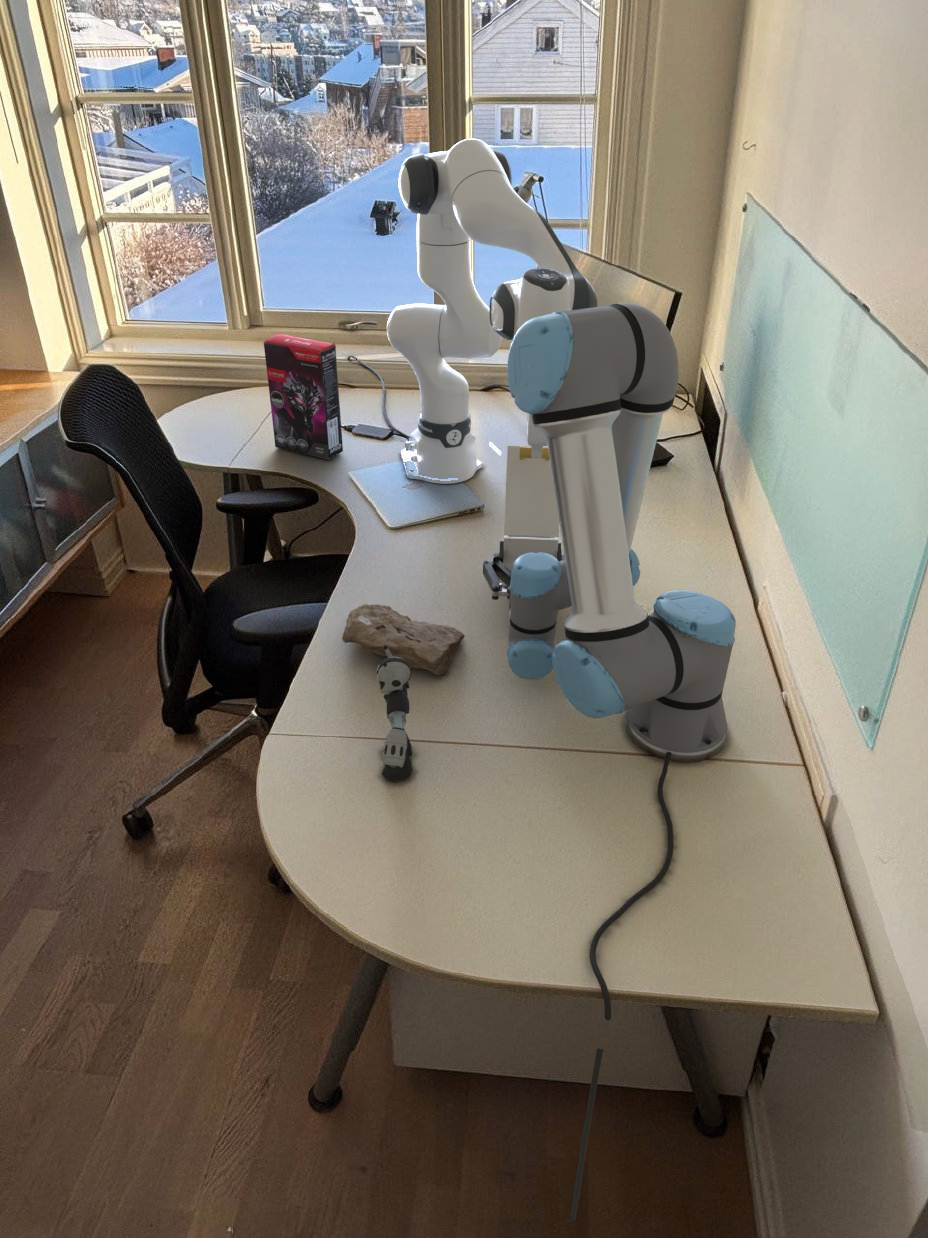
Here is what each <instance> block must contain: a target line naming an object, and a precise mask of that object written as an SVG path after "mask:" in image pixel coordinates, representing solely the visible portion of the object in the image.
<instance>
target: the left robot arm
mask: <svg viewBox="0 0 928 1238" xmlns="http://www.w3.org/2000/svg"><path fill="white" fill-rule="evenodd" d="M512 180H513V179H512V168H511V164H510V162H509V159H508V158H507V156H506V155H505V154H504V152H502V151H500V150H497V149H492V148H491V147H490V146H489V145H488V144H487V143H486V142H485V141H483V140H482V139H479V138H478V139H477V138H466V139H463V140H460V141H458V142H457V143H456V144H454V145H453V146H452V147H451V148H450V149H449V150H444V151H437V152H431V153H427V154H425V153H423V152H422V153H418V154H417V153H416V154H414V155H411V156H408V157H407V158H406V159H405V160H404V161H403V163H402V164H401V166H400V171H399V177H398V190H399V194H400V197H401V200H402V203H403V205H404V207H405V208H406V210H408V211H409V212H410V213H413V214H417V221H416V252H417V274H418V277H419V279H420V281H421V282H422V283H423V284H424V286H425V287H427V288H428V289H429V290H431V291H433V292H434V293H436V294H438V296H439V297H440V298H441V300H442V301H443V302H444V304H428V303H411V304H404V305H398V306H396V307H395V308H394V309H393V311H392V312H391V313H390V315H389V317H388V318H387V323H386V335H387V339H388V341H389V343H390V345H391V346H392V348H393V349H394V350H395V351H396V352H398V354H400V355H401V356H402V357H403V358H404V360H406V361H407V363H408V364H409V365H410V367H411V368H412V370H413V372H414V374H415V376H416V380H417V382H418V386H419V396H420V397H419V398H420V399H419V400H420V411H419V412H420V414H419V418H418V420H417V428H416V429H414V430H413V431H412V432H411V433H410V434H409V435H407V434H406V433H404V432H402V431H401V430H399V429H397V428H396V427H395V426H394V425H393V424H392V422H391V421H390V419H389V417H388V416H387V412H386V383H385V381H384V379H383V377H382V376H381V374H379V372H377V371H376V369H374V368H372V367H371V366H369V365H368V364H367V363H365V362H363V361H362V360H361V359H359V358H358V357H356V356H355V355H352V354H349V355H348V356H347V357H346V360H350V359H354V360H355V359H359V361H357V362H358V363H359V364H360V365H361V366H363V367H365V368H366V369H368V370H369V371H371V372H373V373H374V375H376V376H377V377H378V379H379V381H380V382H381V385H382V401H381V402H382V403H381V407H382V414H383V417H384V420H385V421H386V423H387V425H388V426H389V428H390V429H391V430H392V431H394V432H396V433H397V434H399V435H400V436H402V437H404V438H406V439H409V441H405V443H404V449H401V450H400V457H401V461H402V464H403V468H404V470H405V474H406V476H407V478H408V479H411V480H420V481H424V482H428V483H433V484H439V485H440V484H441V485H448V484H451V485H452V484H458V483H463V482H465V481H468V480H469V479H472V477H474V476H475V473H476V472H477V471H478V470H480V469H481V468H483V462H482V461H481V460H479V459H478V458H477V439H476V435H475V434H473V432H471V426H472V419H471V414H470V385H469V383H468V381H467V379H466V378H465V377H464V375H462V374H461V373H460V372H458V371H456V370H455V369H453V368H452V367H451V366H450V365H449V364H448V363H447V361H446V360H445V358H447V359H459V360H472V361H473V360H479V359H480V360H481V359H487V358H492V357H493V356H494V355H496V354H497V353H498V351H499V349H500V348H501V345H502V342H503V339H505V340H506V341H513V339H514V336H515V334H516V332H517V331H518V329H519V328H520V327H521V326H522V325H523V324H524V323H525V322H526V321H528V320H530V319H532V318H535V317H539V316H543V315H547V314H552V313H553V312H562V311H570V310H578V309H587V308H595V307H598V298H597V294H596V291H595V289H594V287H593V286H592V283H590V281H589V280H588V279H587V278H586V277H585V276H584V275H583V273H581V271H580V270H579V269H578V268H577V267H576V265H575V263H574V262H573V261H572V258H571V257H570V255H569V254H568V252H567V251H566V249H565V247H564V246H563V244H562V242H561V241H560V239H559V238H558V236H557V234H556V232H555V231H554V229H553V228H552V227H551V225H550V223H549V222H548V220H547V219H546V218H545V216H544V215H543V213H541V212H540V211H538V210H537V209H535V208H534V207H532V206H530V204H528V203H527V202H526V201H525V200H524V199H522V197H521V196H520V195H519V194H518V193H517V191H515V190H514V188H513V186H512V185H513V183H512V182H513V181H512ZM471 240H472V241H474V242H476V243H478V244H480V245H483V246H487V247H492V248H493V247H494V248H500V249H506V250H510V251H514V252H518V253H520V254H523V255H525V256H527V257H529V258H530V259H531V260H532V261H534V263H535V264H536V266H537V267H536V268H531V269H528V270H526V271H525V272H523V274H522V275H521V277H520V278H519V279H514V280H509V281H505V282H501V283H500V284H499V285H498V286H497V287H496V288H495V289H494V291H493V292H492V294H491V296H490V299H489V306H488V305H487V304H486V303H485V302H484V301H483V299H482V298H481V296H480V295H479V293H478V290H477V289H476V286H475V284H474V280H473V273H472V265H471ZM351 357H352V358H351ZM526 433H527V435H526V436H527V437H526V439H527V441H526V442H527V446H531V447H532V451H531V457H532V458H533V459H540V458H541V457H542V448H543V447H548V443H547V438H546V436H545V435H544V434H543V433H541V432H540V431H539V430H537V429H536V428H535V427H533V421H532V414H528V413H526ZM489 446H490V447H491V448H492V449H493V450H494V451H495V452H496V453H497V454H498V455H499V456H501V455H502V451H501V450H500V449H499V448H497V446H495V444H494V443H493V442H491V441H489ZM407 461H411V462H414V464H415V466H416V469H417V474H418V475H422V476H427V477H431V478H438V479H448V478H458V480H451V481H440V480H432V479H428V478H424V477H420V476H411V475H409V474H408V473H407V470H406V466H405V463H404V462H407ZM409 472H415V470H409Z"/></svg>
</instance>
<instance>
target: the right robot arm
mask: <svg viewBox="0 0 928 1238" xmlns="http://www.w3.org/2000/svg"><path fill="white" fill-rule="evenodd" d="M506 366H507V367H506V369H507V370H506V373H507V374H506V375H507V382H508V383H507V384H508V389H509V393H510V396H511V397H512V398H513V399H514V404H515V406H516V407H517V408H518V409H519V410H520V411H521V412H523V413H526V414H527V413H528V414H532V421H533V427H535V428H536V429H537V430H539V431H540V432H541V433H543V434H544V435H545V436H546V438H547V443H548V446H547V447H548V450H549V456H550V463H551V470H552V476H553V483H554V490H555V496H556V503H557V509H558V516H559V530H560V535H561V542H558V551H557V559H556V558H555V557H554V556H552V555H550V554H547V553H542V552H539V553H533V552H531V553H526V554H523V555H521V556H520V557H518V558H517V559H516V561H515V562H514V564H513V569H512V571H511V570H509V569H508V568H507V567H506V566H505V565H504V564H503V552H504V549H503V547H504V540H499V552H493V555H492V561H489V560H483V561H482V575H483V577H484V579H485V581H486V583H487V585H488V587H489V589H490V591H491V599H492V600H493V601H498V600H499V598H500V597H505V598H507V600H508V641H507V642H508V644H507V653H506V655H507V658H508V659H507V660H508V666H509V668H510V670H511V672H512V673H513V674H514V675H516V676H517V677H519V678H521V679H523V680H531V681H533V680H534V681H535V680H540V679H542V678H544V677H546V676H548V675H549V674H550V673H551V672H552V670H553V673H554V676H555V678H556V682H557V684H558V686H559V688H560V690H561V692H562V693H563V695H564V697H565V698H566V699H567V700H568V702H569V703H570V704H571V705H572V706H573V708H575V709H576V710H577V711H578V713H581V714H582V715H583V716H586V717H587V718H591V719H602V718H606V717H609V716H612V715H621V714H623V713H624V712H626V719H625V728H626V732H627V734H628V736H629V738H630V739H631V741H632V742H634V744H636V745H637V746H638V747H639V748H640V749H641V750H643V751H645V752H646V753H648V754H650V755H651V756H654V757H656V758H659V759H662V760H664V761H663V765H662V771H661V773H660V777H659V781H658V784H657V796H658V797H657V798H658V802H659V806H660V808H661V811H662V813H663V816H664V819H665V822H666V829H667V852H666V857H665V860H664V863H663V865H662V867H661V869H660V871H659V873H658V874H657V875H656V876H655V877H654V878H653V879H652V880H651V881H650V882H649V883H648V884H646V885H645V886H644V887H642V888H641V889H639V890H638V891H637V892H636V893H634V894H633V895H632V896H630V898H628V900H626V901H625V903H623V904H622V905H621V906H620V907H619V908H618V909H617V910H616V911H615V912H614V913H612V914H611V915H610V916H609V917H608V918H607V919H606V920H605V921H604V922H603V923H602V924H601V925H600V926H599V928H598V929H597V930H596V931H595V933H594V936H593V937H592V940H591V943H590V947H589V962H590V966H591V969H592V971H593V973H594V976H595V979H596V980H597V982H598V984H599V987H600V989H601V992H602V997H603V1004H604V1005H603V1006H604V1019H605V1020H606V1021H611V1019H612V1001H611V995H610V992H609V988H608V985H607V983H606V981H605V978H604V976H603V974H602V973H601V969H600V967H599V964H598V963H597V962H598V961H597V956H596V955H597V954H596V952H597V946H598V943H599V941H600V939H601V937H602V935H603V934H604V933H605V932H606V930H607V929H608V928H609V927H610V926H612V924H613V923H615V921H617V920H618V919H619V918H620V917H621V916H622V915H623V914H625V912H626V911H627V910H628V909H630V907H631V906H632V905H633V904H634V903H635V902H637V901H638V900H639V899H640V898H642V897H644V896H645V895H646V894H647V893H649V892H650V891H651V890H652V889H654V888H655V887H656V886H657V885H658V884H659V883H660V882H661V881H662V880H663V878H664V877H665V875H666V874H667V872H668V870H669V868H670V865H671V864H672V863H671V862H672V859H673V854H674V827H673V821H672V818H671V814H670V812H669V810H668V807H667V804H666V801H665V796H664V783H665V780H666V778H667V773H668V769H669V765H670V762H675V763H694V762H700V761H703V760H706V759H709V758H711V757H714V755H716V754H718V752H720V751H721V750H722V748H723V747H724V744H725V743H726V740H727V739H726V738H727V734H728V728H729V727H728V721H727V716H726V712H725V708H724V707H725V706H724V701H723V692H724V687H725V682H726V678H727V674H728V669H729V664H730V661H731V655H732V652H733V647H734V644H735V642H736V637H735V632H736V627H737V626H736V625H737V624H736V617H735V615H734V614H733V612H732V610H731V609H730V608H729V607H728V606H727V605H726V604H724V603H723V602H722V601H720V600H719V599H717V598H715V597H712V596H710V595H707V594H705V593H702V592H698V591H693V590H686V589H685V590H684V589H674V590H669V591H665V592H663V593H661V594H659V596H657V597H656V600H655V602H654V604H653V607H652V608H653V612H652V613H650V614H649V612H648V610H647V609H646V608H644V607H643V606H642V605H641V604H639V603H638V602H636V599H635V591H634V587H635V586H636V585H637V584H638V582H639V580H640V577H641V570H640V567H639V566H640V565H641V564H640V560H639V557H638V555H637V553H636V552H635V551H634V549H633V548H632V544H633V542H634V541H633V540H634V536H635V532H636V528H637V523H638V520H639V516H640V515H639V514H640V511H641V506H642V504H643V499H644V494H645V490H646V487H647V482H648V478H649V474H650V470H651V465H652V461H653V458H654V453H655V450H656V445H657V441H658V437H659V433H660V429H661V424H662V420H663V416H664V414H666V413H667V412H668V411H670V410H671V409H672V408H673V406H674V402H675V398H676V394H677V389H678V383H679V358H678V350H677V347H676V344H675V342H674V339H673V336H672V334H671V332H670V330H669V328H668V327H667V325H666V324H665V322H664V321H663V320H662V319H661V318H660V317H659V316H658V315H657V314H656V313H654V312H653V311H652V310H650V309H648V308H647V307H644V306H643V305H640V304H635V303H630V302H620V303H619V302H618V303H612V304H610V305H604V306H597V307H595V308H587V309H578V310H570V311H562V312H553V313H552V314H547V315H543V316H539V317H535V318H532V319H530V320H528V321H526V322H525V323H524V324H523V325H522V326H521V327H520V328H519V329H518V331H517V332H516V334H515V336H514V339H513V340H512V342H511V343H510V346H509V351H508V355H507V365H506ZM562 549H563V552H562ZM562 553H563V554H562ZM502 582H504V583H505V584H506V585H507V586H506V587H507V589H506V588H505V586H502ZM568 608H571V609H572V610H571V611H570V613H569V614H568V616H567V617H566V619H565V620H564V621H563V628H564V629H563V630H564V636H565V640H561V641H560V642H559V643H557V644H556V645H555V643H556V633H557V632H556V631H557V621H558V613H559V611H562V610H565V609H568ZM603 1055H604V1049H602V1048H598V1047H597V1048H596V1052H595V1057H594V1065H593V1068H592V1075H591V1080H590V1081H591V1082H590V1088H589V1094H588V1100H587V1107H586V1110H585V1111H586V1112H585V1119H584V1124H583V1131H582V1138H581V1145H580V1151H579V1157H578V1158H579V1159H578V1164H577V1170H576V1178H575V1184H574V1191H573V1197H572V1202H571V1203H572V1204H571V1210H570V1216H569V1220H570V1221H571V1222H575V1221H576V1220H577V1219H576V1218H577V1212H578V1205H579V1200H580V1193H581V1189H582V1188H581V1187H582V1182H583V1181H582V1179H583V1175H584V1169H585V1163H586V1162H585V1161H586V1156H587V1149H588V1143H589V1136H590V1131H591V1125H592V1120H593V1119H592V1118H593V1112H594V1107H595V1099H596V1094H597V1089H598V1083H599V1077H600V1072H601V1066H602V1060H603Z"/></svg>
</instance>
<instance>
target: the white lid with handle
mask: <svg viewBox="0 0 928 1238" xmlns="http://www.w3.org/2000/svg"><path fill="white" fill-rule="evenodd" d="M506 449H507V450H506V471H505V472H506V473H505V475H506V477H505V497H504V499H505V500H504V501H505V502H504V525H503V526H504V527H503V536H504V535H506V536H534V537H558V538H559V537H560V523H559V516H558V509H557V503H556V496H555V490H554V483H553V476H552V470H551V463H550V456H549V450H548V446H543V448H542V457H541V458H540V459H533V458H532V457H531V451H532V446H530V445H527V446H526V445H507V448H506Z"/></svg>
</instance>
